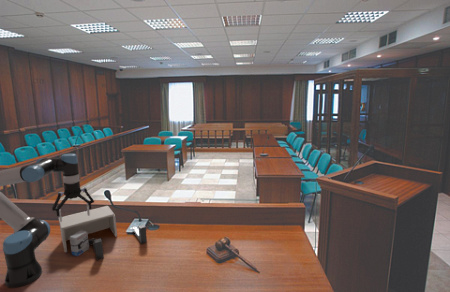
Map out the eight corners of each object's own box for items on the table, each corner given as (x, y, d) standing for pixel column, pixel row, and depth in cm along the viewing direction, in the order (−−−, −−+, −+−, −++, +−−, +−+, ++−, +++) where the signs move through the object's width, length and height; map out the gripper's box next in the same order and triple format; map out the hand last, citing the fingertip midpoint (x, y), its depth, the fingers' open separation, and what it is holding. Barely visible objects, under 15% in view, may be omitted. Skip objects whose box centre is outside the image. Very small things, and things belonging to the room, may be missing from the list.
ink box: (77, 256, 151) (75, 238, 148) (71, 254, 152) (69, 236, 150) (89, 248, 158) (87, 231, 156) (83, 247, 160) (81, 229, 158)
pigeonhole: (117, 236, 172) (115, 213, 169) (64, 252, 154) (61, 228, 151) (111, 226, 185) (108, 205, 182) (62, 240, 168) (58, 217, 164)
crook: (103, 258, 149) (101, 240, 147) (79, 266, 141) (76, 248, 139) (96, 241, 166) (94, 225, 164) (74, 248, 159) (72, 232, 157)
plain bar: (146, 242, 164) (145, 226, 162) (141, 244, 162) (140, 228, 160) (136, 230, 180) (135, 215, 178) (131, 231, 178) (130, 216, 176)
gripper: (95, 176, 151) (98, 210, 155) (43, 184, 137) (48, 221, 141) (97, 179, 145) (100, 214, 149) (44, 188, 131) (48, 226, 135)
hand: (75, 217), depth 145 cm, fingers open, 13 cm apart
